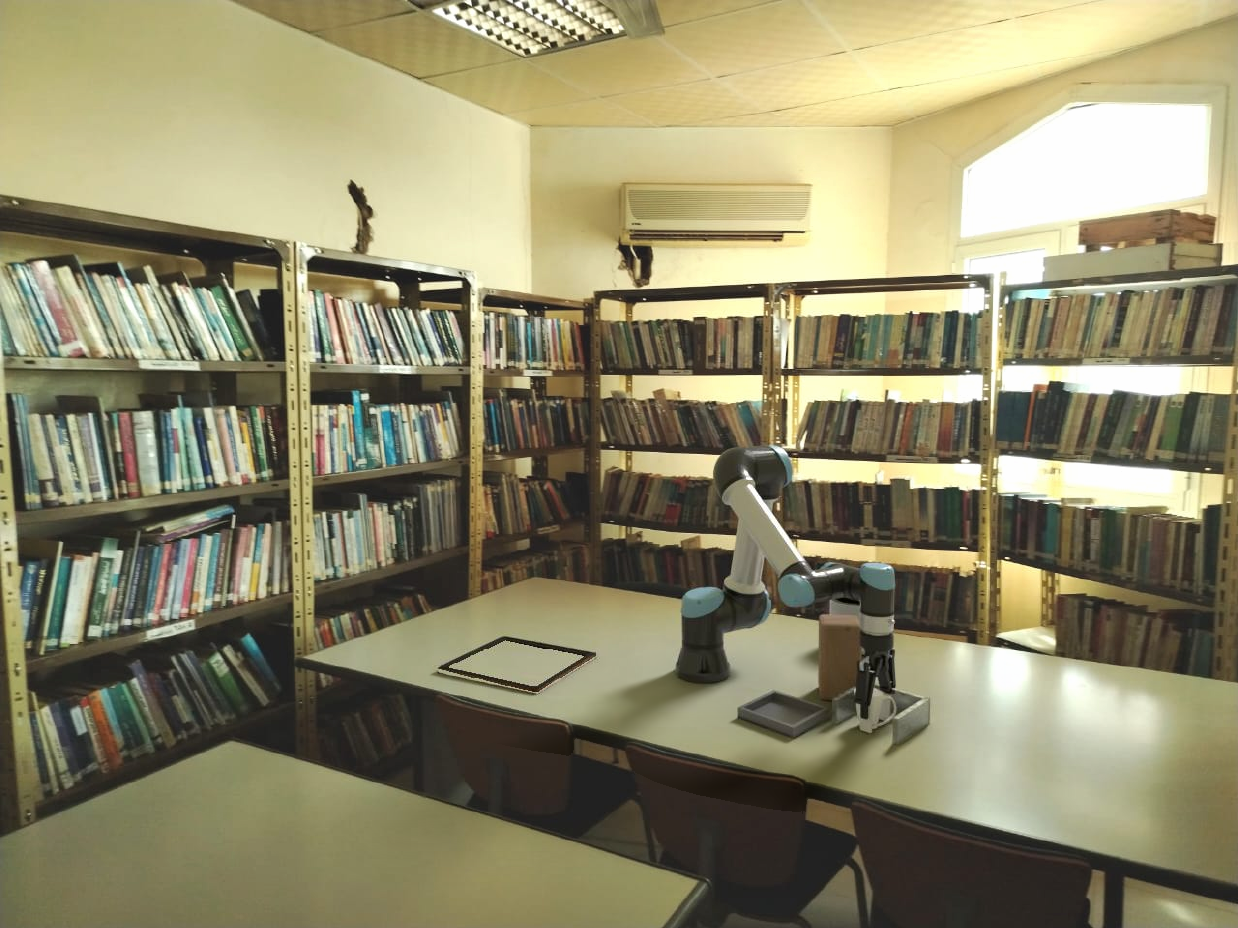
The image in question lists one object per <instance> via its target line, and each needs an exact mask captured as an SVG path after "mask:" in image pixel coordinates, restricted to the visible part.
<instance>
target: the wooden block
mask: <svg viewBox="0 0 1238 928" xmlns="http://www.w3.org/2000/svg"><path fill="white" fill-rule="evenodd" d="M860 630H861V628H860V622H859V619H858V617H857V616H855V615H832V614H830V613H828V614H826V613H823V614H820V615H819V616H818V675H817V676H818V680H817V681H818V682H817V683H818V684H817V685H818V691H819V696H820V699H821V700H823V701H832V699H833V698H834V697H836V696H838V695H840V694H842V693H844V692H846V691H847V690H849V689H851V688H853V687H855V686H856V678H857V661H858V660H859V661H862V656H861V646H860V644H859V640H860Z"/></svg>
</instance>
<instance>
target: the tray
mask: <svg viewBox="0 0 1238 928" xmlns="http://www.w3.org/2000/svg"><path fill="white" fill-rule="evenodd" d="M737 719H740V720H742V721H745V722H748V723H750V724H753V725H756V726H759V727H761V728H764V729H766V730H769V731H772V732H775V733H777V734H780V735H783V736H785V737H788V738H791V739H796V738H797V737H800V736H801V735H803V734H805V733H806V732H808V731H810V730H812V729H813V728H814V729H815V727H817V726H819V725H821V724H822V723H824V722H825V721H827V720H829V719H830V708H829V707H828V706H825V705H821V704H818V703H815V702H811V701H809V700H806V699H803V698H799V697H796V696H794V695H793V696H792V695H791V694H787V693H785V692H781V691H779V690H774V689H773V690H771V691H768V693H765V694H763V695H761V696H758V697H756V698H755V699H752V700H750V701H748V702H746V703H745V704H742V705H740V706H738V707H737Z"/></svg>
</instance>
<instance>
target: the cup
mask: <svg viewBox="0 0 1238 928" xmlns="http://www.w3.org/2000/svg"><path fill="white" fill-rule="evenodd" d="M855 689H856V688H855ZM854 694H855V691H854ZM887 698H890V699H891V700H892V701H893V705H894V711H893V714H892V713H891V714H890V717H889V718H888V719H886V720H885V721H884V720H882V722H879V720H880V719H879V717H880V712H881V706H882V701H883V699H887ZM871 705H873V717H872V730H874V729H878V727H881V726H884V725H885V724H887V723H889V722H890V721H891V720H893V717H895V716H896V715H895V714H896V704H895V701H894V700H893V699H892V697H890V696H887V695H884V692H883V691H880V690H878V689H876V688H874V689H873V694H872V699H871ZM856 711H857V713H856V715H857V720H858V726H859V727H860V704H857V703H856ZM888 721H889V722H888Z"/></svg>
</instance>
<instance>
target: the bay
mask: <svg viewBox="0 0 1238 928" xmlns="http://www.w3.org/2000/svg"><path fill="white" fill-rule="evenodd" d="M855 688H856V686H855V687H853V688H851V689H849V690H847V691H846V692H844V693H842V694H840V695H838V696H836V697H834V698H833V699H832V700H831V702H832V703H831V723H832V724H834V725H839V724H840V723H842V722H843V721H845V720H847V719H849V718H850V717H852V716H854V715H855V714H857V711H856V703H855V702H854V700H855V694H854V691H855ZM874 688H876V689H878V690H880V686H879V682H878V683H877V682H875V685H874ZM892 690H895V694H890V697H892V699H893V700H894V701H895V704H896V714H895V716H894V717H893V718H892V737H891V738H892V739H891V740H892V741H891V742H892V745H896V746H899V745H900V744H901V743H903V742H904V741H906V740H907V739H909V738H911V737H912V736H913V735H915V734H916V733H917V732H919V731H920V730H922V729H923V728H925V727H926V726H928V725H929V724H931V698H930V697H927V696H923V695H920V694H917V693H916V694H915V693H912V692H909V691H905V690H903V689H902V690H901V689H898V688H896V687H895V689H893V688H892ZM880 691H881V690H880ZM893 711H894V705H893V701H892V700H891V699H890V714H891V715H892V714H893Z"/></svg>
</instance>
